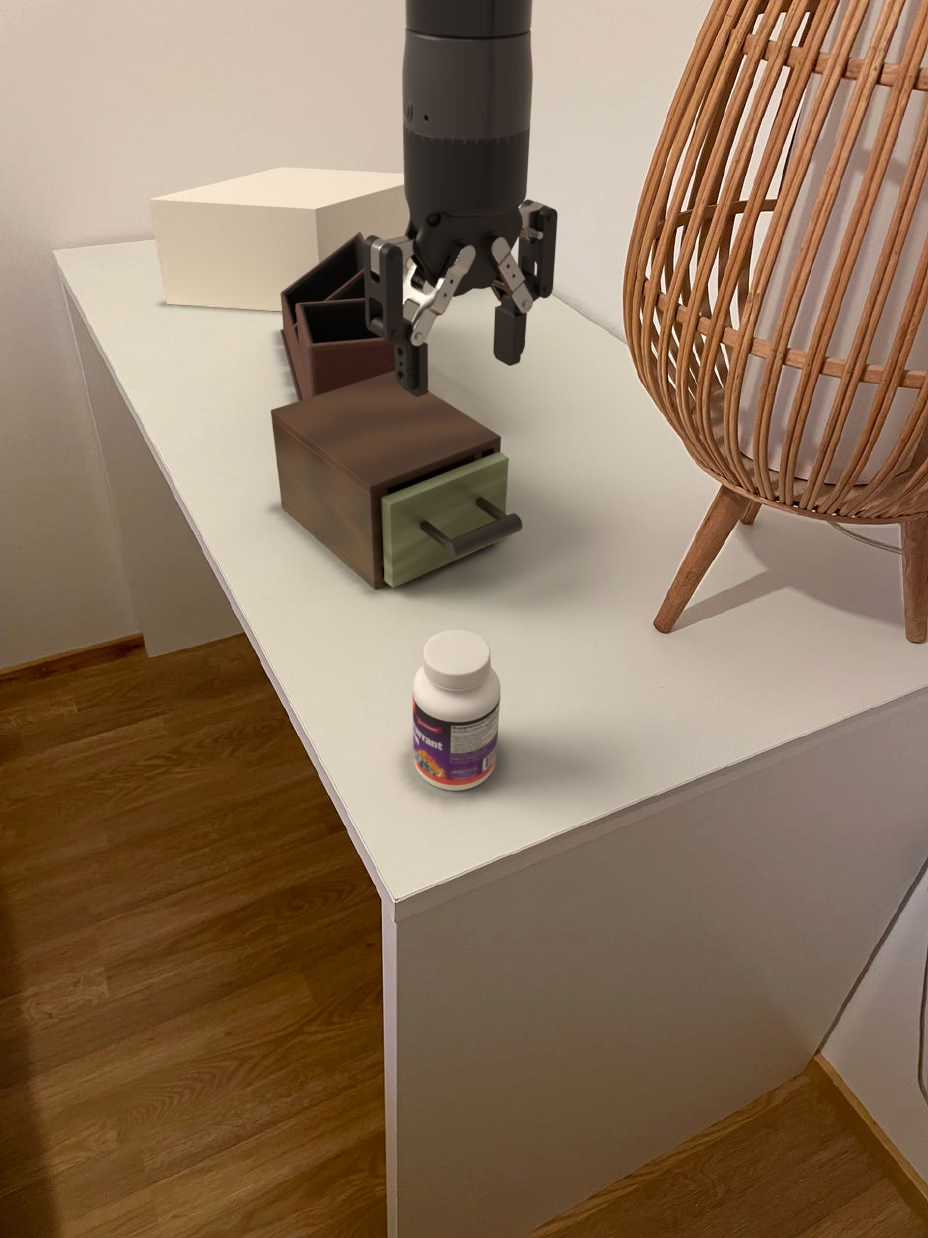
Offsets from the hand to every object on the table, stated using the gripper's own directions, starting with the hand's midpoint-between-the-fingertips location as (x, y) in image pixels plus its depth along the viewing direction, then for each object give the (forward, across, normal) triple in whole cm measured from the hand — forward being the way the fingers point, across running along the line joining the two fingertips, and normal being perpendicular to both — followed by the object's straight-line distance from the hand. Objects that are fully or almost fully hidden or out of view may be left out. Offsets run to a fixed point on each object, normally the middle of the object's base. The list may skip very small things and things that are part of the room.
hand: (462, 375), depth 68 cm
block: (+18, +22, +60) cm, 66 cm away
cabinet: (+18, 0, +10) cm, 20 cm away
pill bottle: (+18, -12, -15) cm, 27 cm away
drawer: (+17, 0, +5) cm, 18 cm away
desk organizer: (+18, +11, +34) cm, 40 cm away
